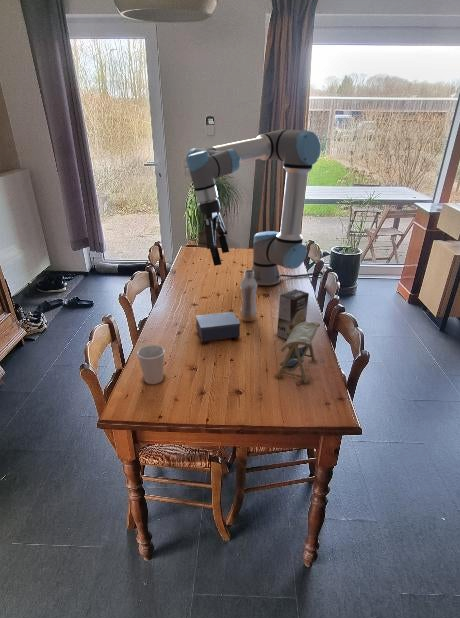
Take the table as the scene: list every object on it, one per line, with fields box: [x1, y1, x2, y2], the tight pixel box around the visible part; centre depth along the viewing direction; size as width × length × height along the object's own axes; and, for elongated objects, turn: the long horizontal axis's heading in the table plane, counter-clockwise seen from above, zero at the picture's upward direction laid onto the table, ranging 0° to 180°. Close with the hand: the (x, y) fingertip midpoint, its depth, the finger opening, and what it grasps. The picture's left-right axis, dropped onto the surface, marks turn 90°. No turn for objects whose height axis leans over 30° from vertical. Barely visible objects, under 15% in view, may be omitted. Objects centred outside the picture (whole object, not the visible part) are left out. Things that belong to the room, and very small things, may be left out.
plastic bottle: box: [239, 269, 258, 322], centre depth 168 cm, size 6×7×20 cm
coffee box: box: [276, 288, 310, 341], centre depth 158 cm, size 9×6×16 cm
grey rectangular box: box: [194, 311, 241, 345], centre depth 159 cm, size 14×10×7 cm
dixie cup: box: [136, 344, 166, 385], centre depth 134 cm, size 8×8×10 cm
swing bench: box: [276, 320, 321, 384], centre depth 137 cm, size 15×10×15 cm, turn 158°
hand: (222, 258), depth 163 cm, fingers open, 13 cm apart
